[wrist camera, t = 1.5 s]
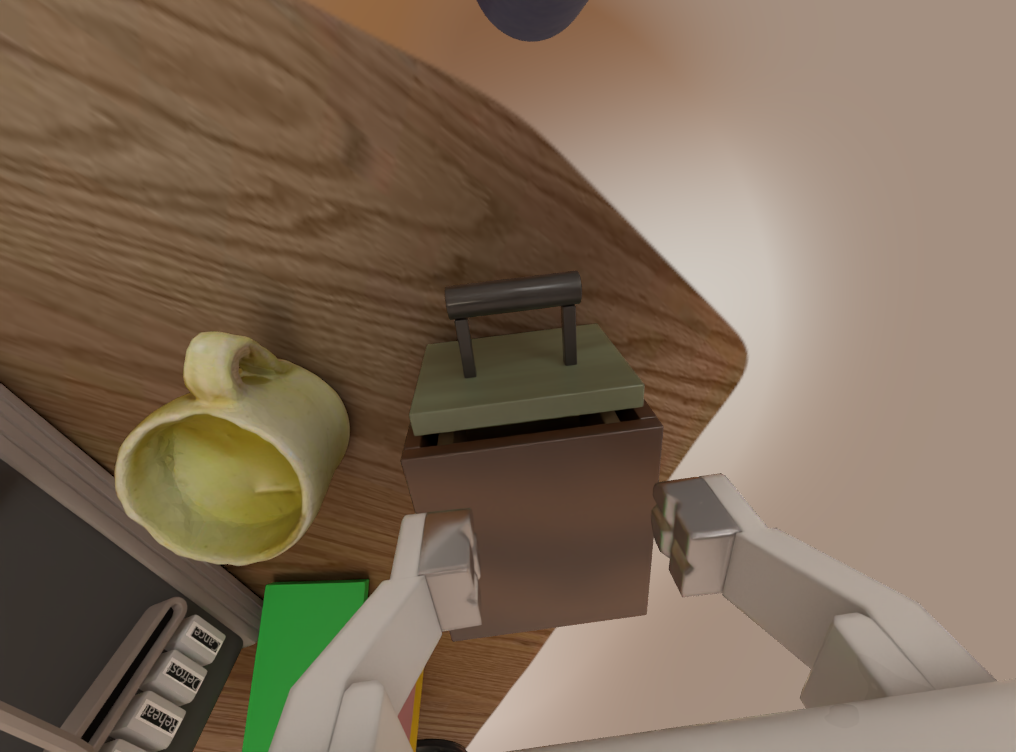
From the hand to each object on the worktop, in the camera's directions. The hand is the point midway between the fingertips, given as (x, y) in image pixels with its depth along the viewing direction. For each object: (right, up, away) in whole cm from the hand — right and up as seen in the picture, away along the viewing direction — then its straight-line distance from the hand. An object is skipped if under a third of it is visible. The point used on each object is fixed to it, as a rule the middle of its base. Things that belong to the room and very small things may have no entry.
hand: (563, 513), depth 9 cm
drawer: (-1, +2, +17) cm, 17 cm away
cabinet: (0, -1, +20) cm, 20 cm away
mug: (-16, +2, +17) cm, 23 cm away
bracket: (-17, -19, +22) cm, 34 cm away
